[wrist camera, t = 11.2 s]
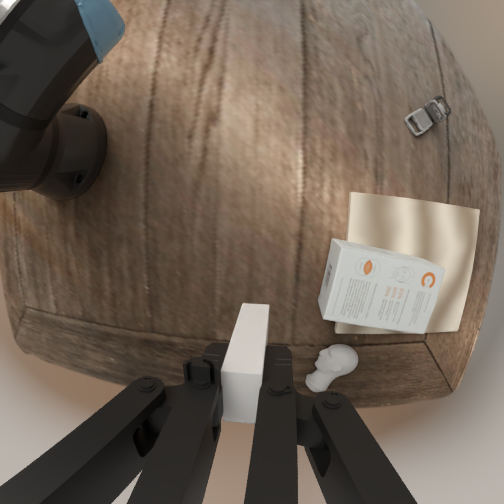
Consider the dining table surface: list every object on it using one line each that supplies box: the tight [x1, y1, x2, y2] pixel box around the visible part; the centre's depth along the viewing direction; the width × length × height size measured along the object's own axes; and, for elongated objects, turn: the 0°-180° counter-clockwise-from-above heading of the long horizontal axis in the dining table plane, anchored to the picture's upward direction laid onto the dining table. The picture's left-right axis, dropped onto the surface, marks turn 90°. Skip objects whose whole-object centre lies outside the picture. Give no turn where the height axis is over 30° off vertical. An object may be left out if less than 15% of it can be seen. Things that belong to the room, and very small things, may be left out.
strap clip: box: [404, 96, 451, 136], centre depth 28 cm, size 8×3×4 cm, turn 127°
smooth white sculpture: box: [305, 344, 358, 392], centre depth 36 cm, size 4×8×5 cm
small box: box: [318, 238, 445, 334], centre depth 31 cm, size 8×6×13 cm
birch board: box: [334, 192, 479, 334], centre depth 33 cm, size 20×18×1 cm
